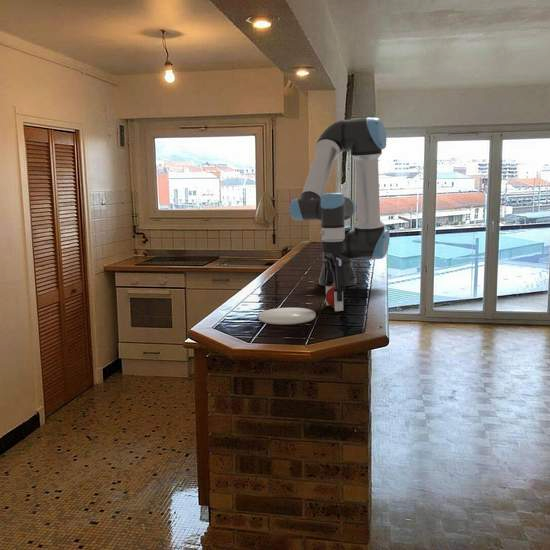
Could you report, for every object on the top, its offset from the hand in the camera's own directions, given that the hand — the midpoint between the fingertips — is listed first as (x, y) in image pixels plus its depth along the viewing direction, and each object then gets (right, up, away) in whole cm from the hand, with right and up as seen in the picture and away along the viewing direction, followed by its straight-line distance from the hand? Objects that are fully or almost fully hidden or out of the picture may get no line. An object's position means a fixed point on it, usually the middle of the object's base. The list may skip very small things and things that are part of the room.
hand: (334, 307), depth 198 cm
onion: (0, 0, 0) cm, 0 cm away
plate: (-16, -2, -10) cm, 19 cm away
